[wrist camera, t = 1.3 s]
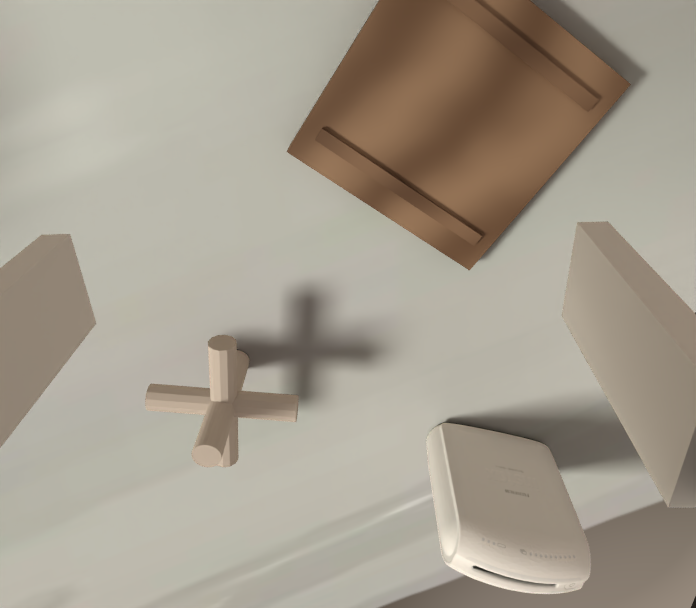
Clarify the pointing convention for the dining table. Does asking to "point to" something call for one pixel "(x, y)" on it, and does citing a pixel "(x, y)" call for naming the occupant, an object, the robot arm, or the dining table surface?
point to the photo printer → (505, 511)
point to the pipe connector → (221, 403)
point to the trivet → (455, 115)
